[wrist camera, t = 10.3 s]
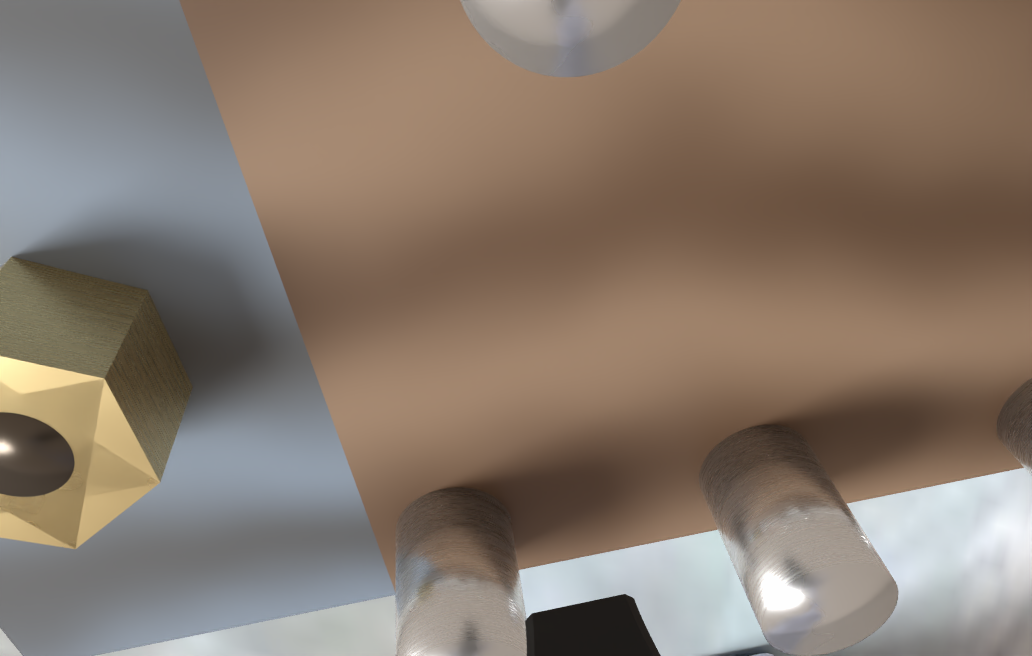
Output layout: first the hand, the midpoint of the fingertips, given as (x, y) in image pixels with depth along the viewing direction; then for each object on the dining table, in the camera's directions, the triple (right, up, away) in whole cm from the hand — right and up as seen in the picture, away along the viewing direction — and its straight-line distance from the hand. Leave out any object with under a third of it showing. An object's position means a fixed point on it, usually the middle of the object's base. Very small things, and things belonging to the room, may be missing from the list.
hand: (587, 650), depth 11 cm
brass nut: (-10, +4, +6) cm, 13 cm away
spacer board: (-1, +6, +7) cm, 9 cm away
